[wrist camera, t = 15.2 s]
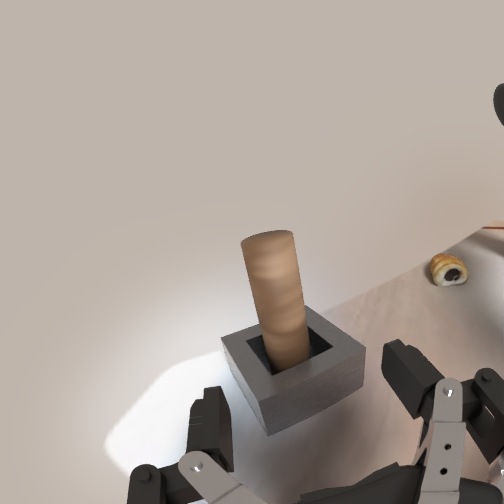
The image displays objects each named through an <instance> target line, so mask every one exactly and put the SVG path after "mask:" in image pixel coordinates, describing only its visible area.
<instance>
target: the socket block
mask: <svg viewBox="0 0 504 504" xmlns="http://www.w3.org/2000/svg"><path fill="white" fill-rule="evenodd" d="M305 313H306V320H307V327H308V335H309V342H310V350H311V359H309V360H307V361H304V362H302V363H300V364H298V365H296V366H294V367H292V368H289V369H287V370H285V371H283V372H280V373H278V374H276V375H273V376H272V373H271V369H270V365H269V361H268V357H267V353H266V349H265V344H264V340H263V336H262V332H261V328H260V324H257V325H255V326H252V327H249V328H247V329H244V330H241V331H238V332H235V333H233V334H230V335H227V336H224V337H221V340H222V344H223V347H224V350H225V353H226V356H227V360H228V363H229V366H230V369H231V372H232V374H233V376H234V378H235V380H236V381H237V383H238V385H239V387H240V389H241V390H242V392H243V394H244V396H245V397H246V399H247V401H248V403H249V404H250V406H251V408H252V410H253V411H254V413H255V415H256V416H257V418H258V420H259V422H260V423H261V425H262V426H263V428H264V430H265V431H266V433H267V435H268V436H269V435H272V434H274V433H276V432H279V431H281V430H283V429H285V428H287V427H290V426H292V425H294V424H296V423H298V422H300V421H302V420H304V419H306V418H308V417H310V416H312V415H314V414H316V413H318V412H320V411H321V410H323V409H325V408H327V407H329V406H330V405H332V404H334V403H336V402H337V401H339V400H341V399H343V398H344V397H346V396H348V395H349V394H351V393H353V392H354V391H356V390H357V389H359V388H360V387H362V386H363V379H364V368H365V354H366V347H365V346H363V345H362V344H360V343H359V342H358V341H356V340H355V339H353V338H352V337H350V336H349V335H347V334H346V333H345V332H343V331H342V330H340V329H339V328H337V327H336V326H335V325H333V324H332V323H330V322H329V321H328V320H326V319H325V318H323V317H322V316H320V315H319V314H318V313H316V312H315V311H313V310H312V309H311V308H309V307H308V306H306V305H305Z"/></svg>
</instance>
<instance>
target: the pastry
mask: <svg viewBox="0 0 504 504" xmlns="http://www.w3.org/2000/svg"><path fill="white" fill-rule="evenodd" d="M430 271H431V274H432V277H433V281H434V283H435V284H436V285H437V286H451V285H458V284H462V283H464V282H465V281H466V279H467V277H468V273H467V270H466V267H465V265H464V264H463V262H462V261H461V259H459V258H457V257H454V256H453V255H445V254H437V255H436V256H435V257H433V258H432V261H431V266H430Z"/></svg>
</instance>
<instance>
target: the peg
mask: <svg viewBox="0 0 504 504" xmlns="http://www.w3.org/2000/svg"><path fill="white" fill-rule="evenodd" d="M241 247H242V252H243V256H244V260H245V264H246V268H247V273H248V277H249V282H250V286H251V290H252V294H253V298H254V303H255V307H256V311H257V315H258V319H259V324H260V328H261V332H262V336H263V340H264V344H265V349H266V353H267V357H268V361H269V365H270V369H271V373H272V376H273V375H276V374H278V373H280V372H283V371H285V370H287V369H289V368H292V367H294V366H296V365H298V364H300V363H302V362H304V361H307V360H309V359H311V350H310V342H309V335H308V327H307V320H306V313H305V306H304V300H303V293H302V286H301V280H300V273H299V267H298V261H297V255H296V249H295V243H294V238H293V233H292V232H291V231H287V230H276V231H269V232H264V233H260V234H256V235H253V236H250V237H248V238H246V239H244V240H243V241H242V242H241Z"/></svg>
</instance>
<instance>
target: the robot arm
mask: <svg viewBox="0 0 504 504" xmlns="http://www.w3.org/2000/svg"><path fill="white" fill-rule="evenodd" d="M493 101H494V108H495V112H496V114H497V116H498V118H499V120H500V122H501V123H502V125H503V126H504V83H503V84H500V85H498V87H497V88H496V90H495V92H494V98H493ZM381 369H382V373H383V376H384V378H385V379H386V380H387V382H388V383H389V385H390V386H391V388H392V389H393V390H394V392H395V393H396V395H397V396H398V398H399V399H400V400H401V402H402V403H403V405H404V406H405V408H406V409H407V411H408V412H409V414H410V415H411V417H412V418H413V419H416V418H418V417H420V416H421V417H422V418H423V421H422V426H421V431H420V436H419V441H418V446H417V450H416V454H415V457H414V459H413V462H412V464H411V465H405V466H399V465H398V463H397V462H395V463H393V464H391V465H389V466H387V467H384V468H382V469H380V470H377V471H375V472H374V473H372V474H371V475H369V476H367V477H366V478H364V479H363V480H361V481H360V482H358V483H356V484H355V485H352V486H346V487H337V488H326V489H322V490H318V491H315V492H311V493H306V494H302V495H300V497H301V500H299V501H297V502H295V503H293V504H504V380H503V379H502V378H501V377H500V376H499V375H498V374H497V373H496V372H495V371H494V370H493V369H490V368H482V369H480V370H478V371H477V373H476V375H475V377H474V378H473V379H470V380H466V381H463V382H459V381H458V380H456V379H454V378H445V377H444V376H443V375H442V374H441V373H440V372H439V371H438V370H437V369H436V368H435V367H434V366H433V364H432V363H431V362H430V361H428V359H427V358H426V357H425V356H423V354H422V353H421V352H420V351H419V350H418V349H417V348H415V347H413V346H411V345H407V346H405V345H404V344H403V343H402V341H401V340H399V339H396V340H394V341H391V342H388V343H386V344H384V347H383V356H382V364H381ZM485 406H486V407H487V408H488V410H489V411H490V412H491V413H492V415H493V416H494V418H495V419H494V418H493V416H492V415H491V414H490V413H489V411H488V410H487V409H486V407H485ZM466 429H467V431H468V432H469V434H470V435H471V437H472V438H473V440H474V441H475V443H476V444H477V446H478V447H479V449H480V451H481V452H482V454H483V455H484V457H485V459H486V460H487V462H488V463H489V465H490V466H489V469H488V477H487V479H488V481H489V482H490V483H485V482H480V481H475V480H470V479H466V478H462V477H461V470H462V464H463V456H464V447H465V435H466ZM228 472H234V464H233V447H232V428H231V413H230V409H229V406H228V403H227V401H226V398H225V396H224V393H223V390H222V388H221V386H216V387H208V388H204V397H203V399H197V400H195V402H194V403H193V405H192V407H191V409H190V418H189V428H188V438H187V449H186V453H185V455H183V456H182V457H181V459H180V460H179V462H177V463H176V464H173V465H170V466H166V467H162V468H159V469H157V468H156V467H155V466H153V465H150V464H143V465H140V466H138V467H136V468H135V469H134V470H133V471H132V473H131V476H130V483H129V490H128V499H127V504H188V503H191V502H195V501H198V500H202V499H205V500H206V501H207V502H208V503H209V504H268V503H267V502H265V501H264V500H263V499H261V498H260V497H259V496H257V495H256V494H255V493H254V492H252V491H251V490H250V489H248V488H247V487H246V486H244V485H243V484H240V483H238V482H237V481H236V480H235V479H234V478H232V477H231V476H230V475H229V474H228Z"/></svg>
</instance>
